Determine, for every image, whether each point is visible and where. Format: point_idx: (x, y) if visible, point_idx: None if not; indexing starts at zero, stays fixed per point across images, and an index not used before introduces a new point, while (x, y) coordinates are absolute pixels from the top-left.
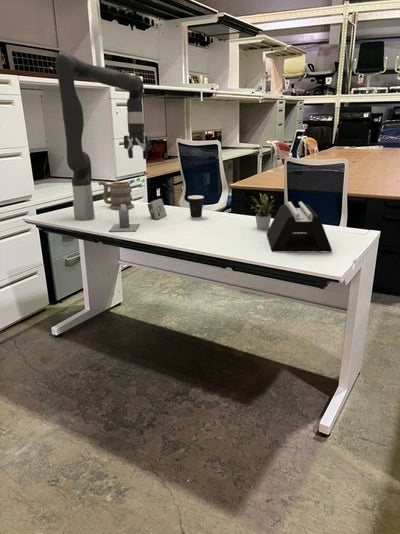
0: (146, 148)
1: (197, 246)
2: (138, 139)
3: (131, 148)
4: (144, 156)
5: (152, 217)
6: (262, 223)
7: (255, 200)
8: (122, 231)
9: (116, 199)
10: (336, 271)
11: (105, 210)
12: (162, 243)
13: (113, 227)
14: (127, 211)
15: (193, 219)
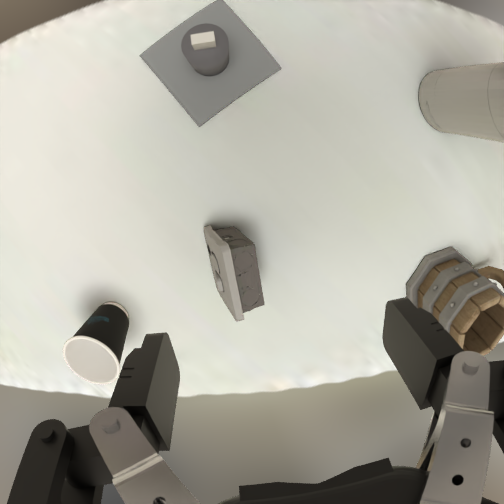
0: (53, 429)
1: None
2: None
3: (439, 415)
4: (141, 354)
5: (228, 228)
6: None
7: None
8: (179, 25)
9: (456, 271)
10: None
11: (462, 228)
12: (4, 49)
13: (243, 32)
14: (182, 50)
15: (110, 302)
